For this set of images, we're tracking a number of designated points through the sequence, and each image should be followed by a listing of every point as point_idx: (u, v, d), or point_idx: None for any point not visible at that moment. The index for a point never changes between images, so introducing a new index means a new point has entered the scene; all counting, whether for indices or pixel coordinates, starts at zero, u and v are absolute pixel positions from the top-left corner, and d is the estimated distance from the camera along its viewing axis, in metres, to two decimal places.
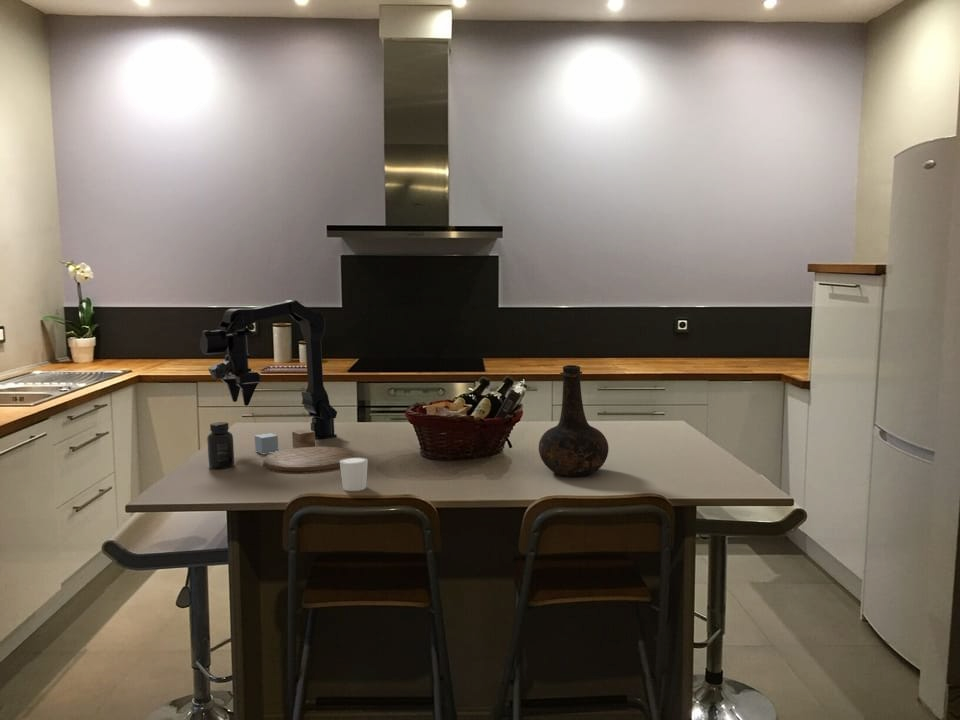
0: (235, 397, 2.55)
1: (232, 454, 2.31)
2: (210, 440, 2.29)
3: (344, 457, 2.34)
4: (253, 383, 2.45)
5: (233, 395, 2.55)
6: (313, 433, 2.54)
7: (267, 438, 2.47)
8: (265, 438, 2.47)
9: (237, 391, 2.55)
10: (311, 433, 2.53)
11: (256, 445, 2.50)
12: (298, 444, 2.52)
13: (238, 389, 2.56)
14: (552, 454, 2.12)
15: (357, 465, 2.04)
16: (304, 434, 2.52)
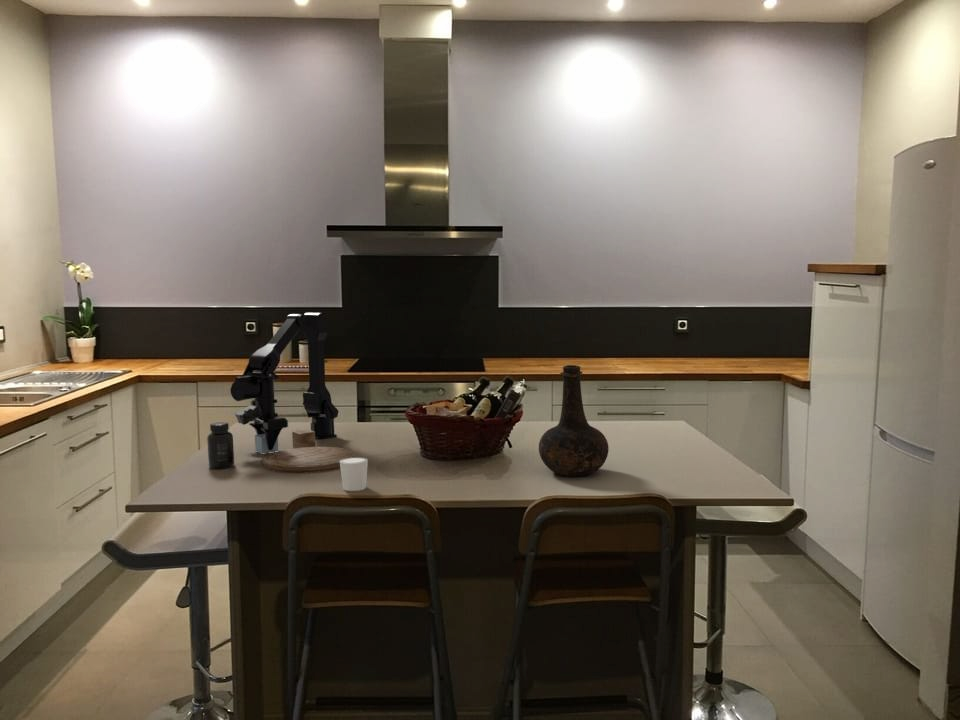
0: None
1: (232, 454, 2.31)
2: (210, 440, 2.29)
3: (344, 457, 2.34)
4: None
5: None
6: (313, 433, 2.54)
7: None
8: (265, 438, 2.47)
9: None
10: (311, 433, 2.53)
11: (255, 444, 2.50)
12: (298, 444, 2.52)
13: None
14: (552, 454, 2.12)
15: (357, 465, 2.04)
16: (304, 434, 2.52)
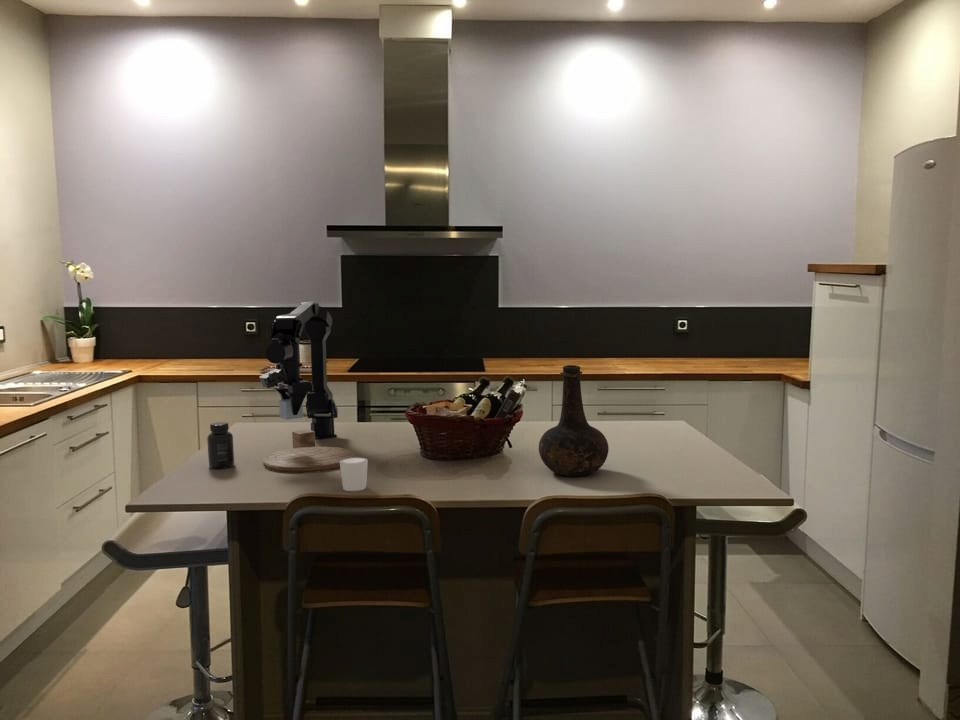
0: None
1: (232, 454, 2.31)
2: (210, 440, 2.29)
3: (344, 457, 2.34)
4: (303, 392, 2.38)
5: None
6: (313, 433, 2.54)
7: None
8: (289, 402, 2.40)
9: None
10: (311, 433, 2.53)
11: (280, 409, 2.43)
12: (298, 444, 2.52)
13: None
14: (552, 454, 2.12)
15: (357, 465, 2.04)
16: (304, 434, 2.52)
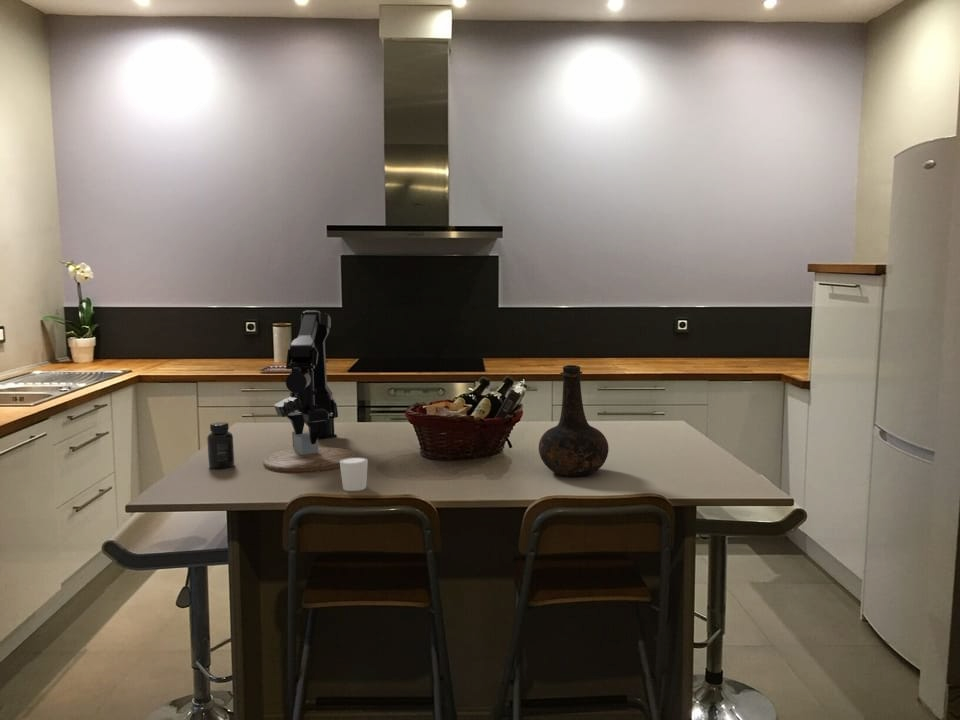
0: None
1: (232, 454, 2.31)
2: (210, 440, 2.29)
3: (344, 458, 2.34)
4: (321, 421, 2.35)
5: (297, 432, 2.45)
6: None
7: (307, 438, 2.39)
8: (305, 438, 2.39)
9: (301, 428, 2.46)
10: None
11: (295, 444, 2.42)
12: None
13: (302, 426, 2.46)
14: (552, 454, 2.12)
15: (357, 465, 2.04)
16: None
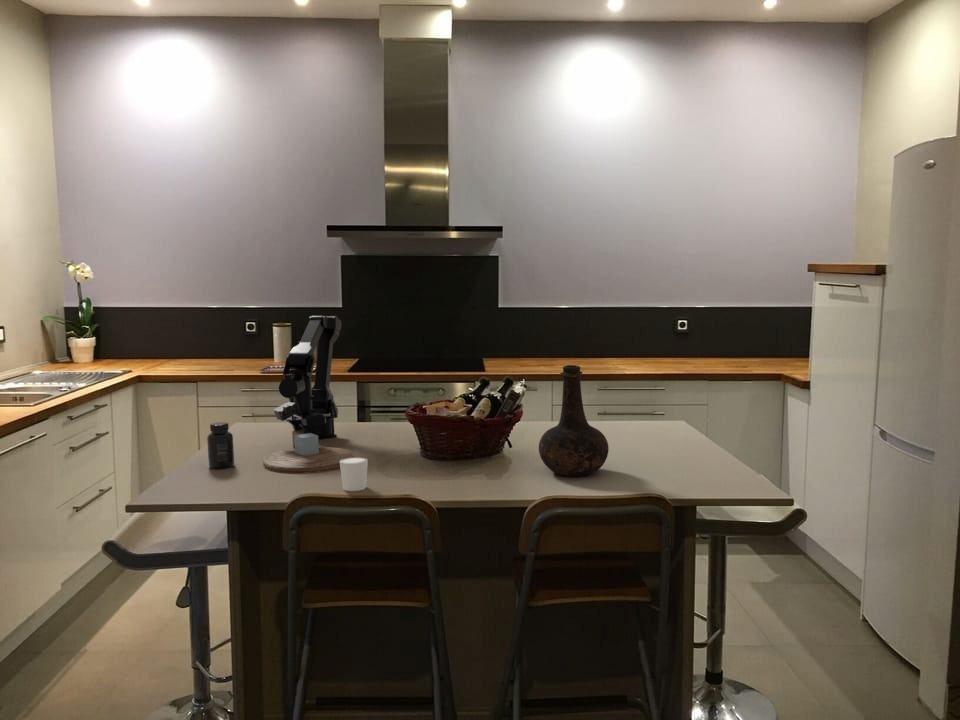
0: None
1: (232, 454, 2.31)
2: (210, 440, 2.29)
3: (344, 458, 2.34)
4: None
5: None
6: None
7: (307, 438, 2.39)
8: (305, 438, 2.38)
9: None
10: None
11: (295, 445, 2.41)
12: None
13: (303, 430, 2.57)
14: (552, 454, 2.12)
15: (357, 465, 2.04)
16: None
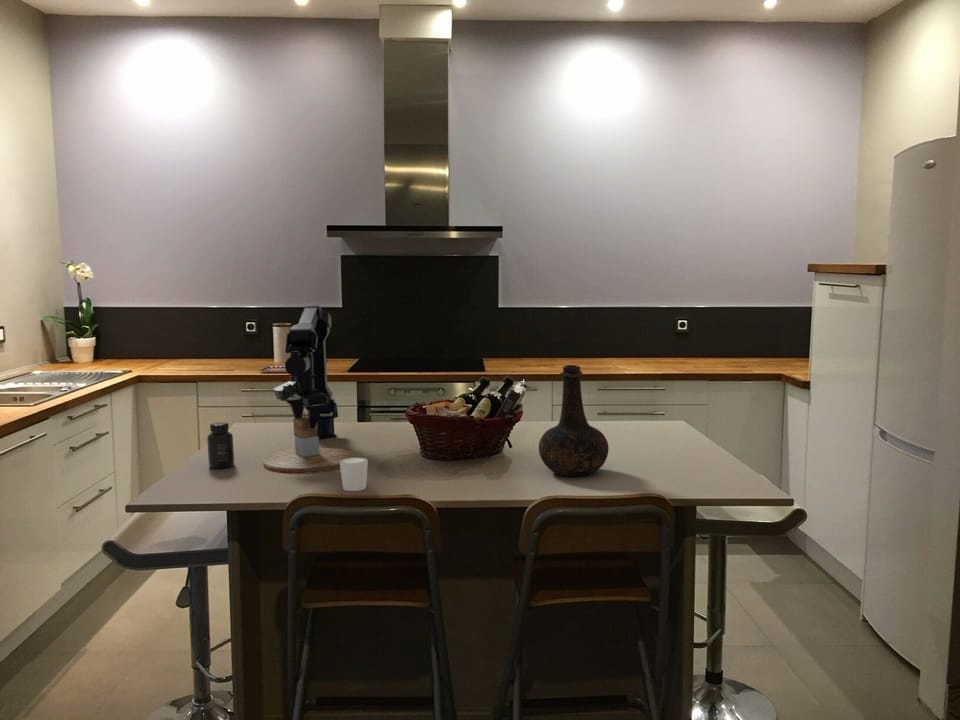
0: None
1: (232, 454, 2.31)
2: (210, 440, 2.29)
3: (344, 458, 2.34)
4: (321, 405, 2.35)
5: (296, 417, 2.44)
6: None
7: (308, 439, 2.38)
8: (306, 439, 2.37)
9: (300, 413, 2.45)
10: None
11: (296, 446, 2.40)
12: (299, 432, 2.38)
13: (301, 410, 2.45)
14: (552, 454, 2.12)
15: (357, 465, 2.04)
16: (306, 421, 2.38)
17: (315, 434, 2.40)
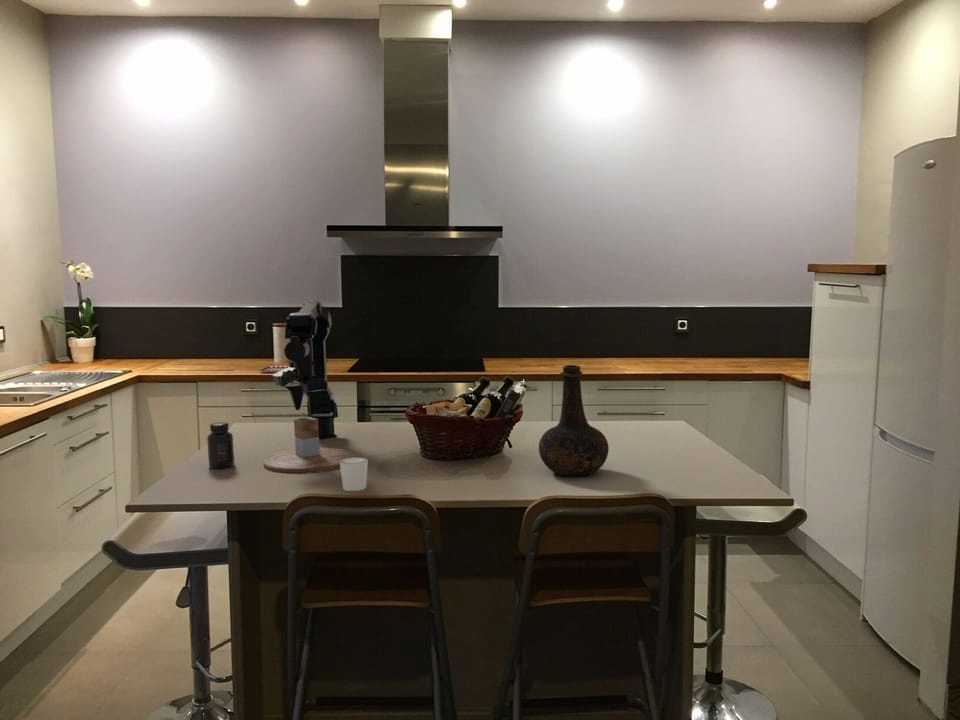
0: (298, 405, 2.44)
1: (232, 454, 2.31)
2: (210, 440, 2.29)
3: (344, 458, 2.34)
4: (320, 391, 2.34)
5: (296, 403, 2.44)
6: (316, 421, 2.39)
7: (308, 440, 2.37)
8: (306, 440, 2.37)
9: (300, 399, 2.45)
10: (314, 421, 2.38)
11: (296, 447, 2.40)
12: (300, 432, 2.37)
13: (301, 397, 2.45)
14: (552, 454, 2.12)
15: (357, 465, 2.04)
16: (307, 422, 2.37)
17: (316, 435, 2.39)
